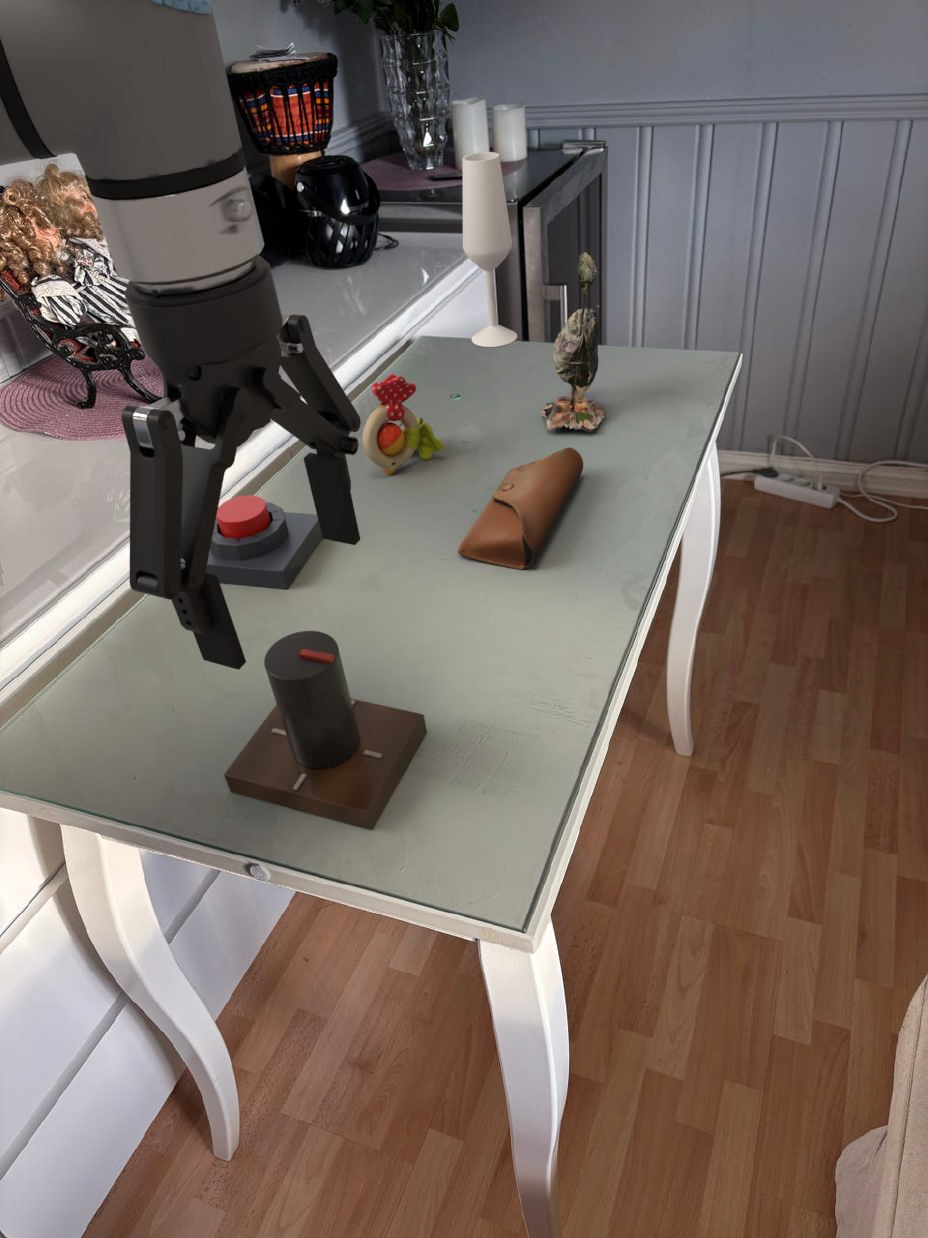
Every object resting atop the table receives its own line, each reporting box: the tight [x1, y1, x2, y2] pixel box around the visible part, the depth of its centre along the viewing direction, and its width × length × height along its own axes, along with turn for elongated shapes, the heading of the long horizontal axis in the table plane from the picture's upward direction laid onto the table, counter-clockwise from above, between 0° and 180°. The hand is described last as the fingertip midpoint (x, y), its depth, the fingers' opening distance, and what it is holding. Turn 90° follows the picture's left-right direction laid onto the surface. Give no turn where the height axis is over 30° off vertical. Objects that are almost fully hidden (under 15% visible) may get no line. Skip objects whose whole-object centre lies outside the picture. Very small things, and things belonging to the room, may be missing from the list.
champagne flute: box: [462, 151, 518, 348], centre depth 124 cm, size 7×7×24 cm
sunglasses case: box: [457, 447, 584, 571], centre depth 93 cm, size 18×7×7 cm, turn 160°
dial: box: [263, 630, 360, 769], centre depth 66 cm, size 5×5×9 cm
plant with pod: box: [540, 251, 606, 433], centre depth 104 cm, size 8×11×20 cm
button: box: [216, 494, 270, 539], centre depth 91 cm, size 5×5×2 cm
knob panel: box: [223, 698, 428, 831], centre depth 69 cm, size 12×10×2 cm
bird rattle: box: [362, 373, 445, 475], centre depth 102 cm, size 6×11×9 cm
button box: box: [181, 501, 323, 590], centre depth 92 cm, size 12×10×4 cm
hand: (287, 596), depth 60 cm, fingers open, 13 cm apart
